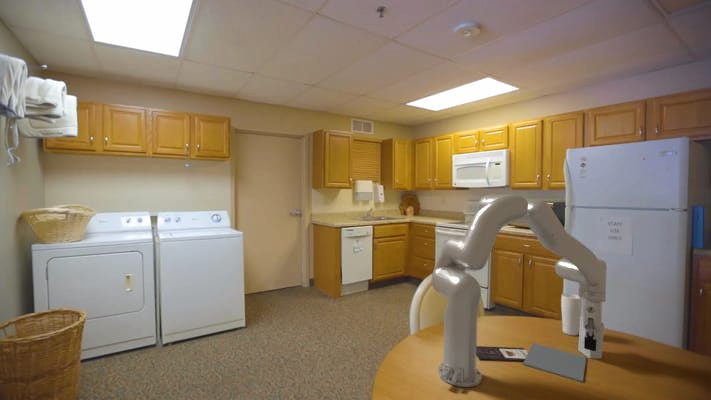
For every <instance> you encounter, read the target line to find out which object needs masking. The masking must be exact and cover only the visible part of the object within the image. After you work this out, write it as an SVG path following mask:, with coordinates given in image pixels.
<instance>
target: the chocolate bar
mask: <svg viewBox="0 0 711 400" xmlns="http://www.w3.org/2000/svg"><path fill="white" fill-rule="evenodd" d="M528 352H529V351H527V350H526V349H525V348H524V347H512V346H511V347H510V346H509V347H508V346H507V347H506V346H505V347H503V346H485V345H484V346H482V345H481V346H479V345H477V354H476V358H478V360H479V361H484V362H485V361H488V362H489V361H490V362H508V363H509V362H515V363H523V362H524V360H525V358H526V356H527V354H528Z"/></svg>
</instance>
